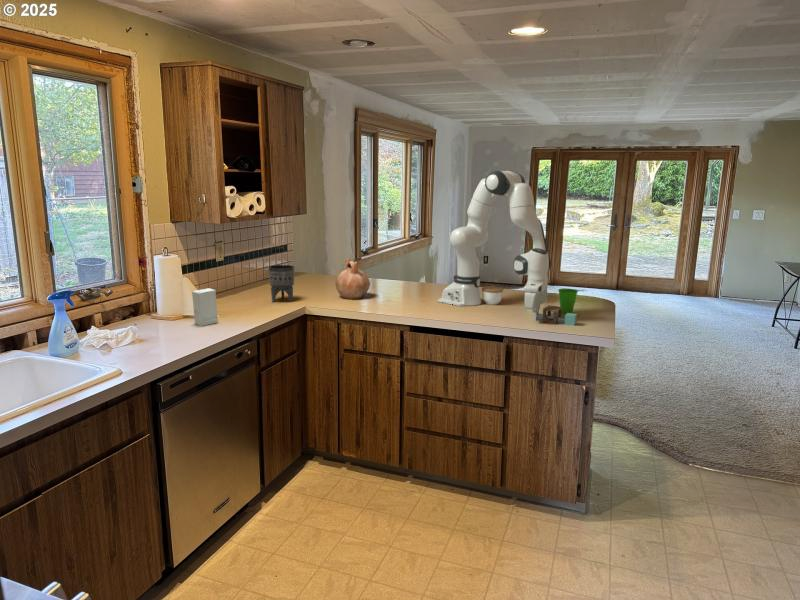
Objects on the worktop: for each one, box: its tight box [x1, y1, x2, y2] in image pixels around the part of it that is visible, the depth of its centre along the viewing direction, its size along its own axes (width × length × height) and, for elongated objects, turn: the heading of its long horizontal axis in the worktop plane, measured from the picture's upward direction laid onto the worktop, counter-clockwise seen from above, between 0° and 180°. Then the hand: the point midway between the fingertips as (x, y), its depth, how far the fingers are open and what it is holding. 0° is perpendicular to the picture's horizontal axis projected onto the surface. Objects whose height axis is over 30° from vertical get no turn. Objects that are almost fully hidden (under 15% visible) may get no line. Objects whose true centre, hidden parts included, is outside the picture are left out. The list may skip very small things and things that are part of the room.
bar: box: [535, 312, 565, 325], centre depth 252 cm, size 13×3×3 cm, turn 60°
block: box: [564, 312, 578, 327], centre depth 248 cm, size 4×4×4 cm
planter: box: [267, 264, 295, 304], centre depth 289 cm, size 13×13×18 cm
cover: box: [541, 304, 563, 325], centre depth 252 cm, size 6×8×6 cm
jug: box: [335, 258, 371, 300], centre depth 299 cm, size 18×18×20 cm
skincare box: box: [191, 287, 219, 327], centre depth 244 cm, size 8×6×15 cm
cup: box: [557, 288, 579, 315], centre depth 267 cm, size 9×9×11 cm
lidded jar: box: [481, 285, 504, 306], centre depth 287 cm, size 11×11×9 cm
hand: (535, 315), depth 257 cm, fingers closed
